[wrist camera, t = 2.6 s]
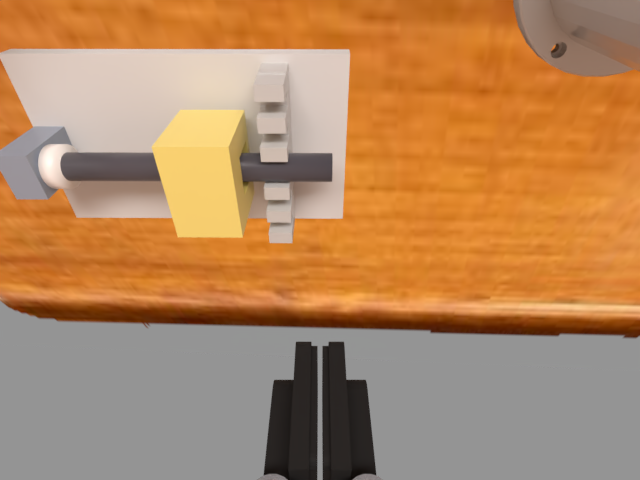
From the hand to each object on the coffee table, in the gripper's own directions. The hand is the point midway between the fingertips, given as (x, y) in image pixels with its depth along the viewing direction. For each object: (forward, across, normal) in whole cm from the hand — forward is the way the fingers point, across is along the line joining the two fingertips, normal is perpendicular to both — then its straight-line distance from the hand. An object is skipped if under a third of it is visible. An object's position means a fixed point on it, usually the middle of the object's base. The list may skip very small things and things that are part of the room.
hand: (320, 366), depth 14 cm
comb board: (+18, +9, 0) cm, 20 cm away
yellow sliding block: (+16, +7, 0) cm, 17 cm away
